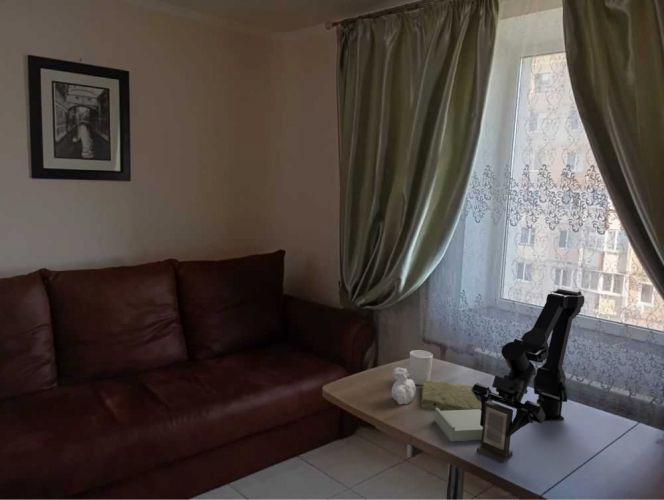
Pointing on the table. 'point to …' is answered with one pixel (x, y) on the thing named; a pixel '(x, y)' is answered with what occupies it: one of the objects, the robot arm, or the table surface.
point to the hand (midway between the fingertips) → (494, 430)
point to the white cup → (420, 366)
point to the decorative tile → (448, 396)
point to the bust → (403, 386)
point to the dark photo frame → (496, 432)
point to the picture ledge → (460, 424)
